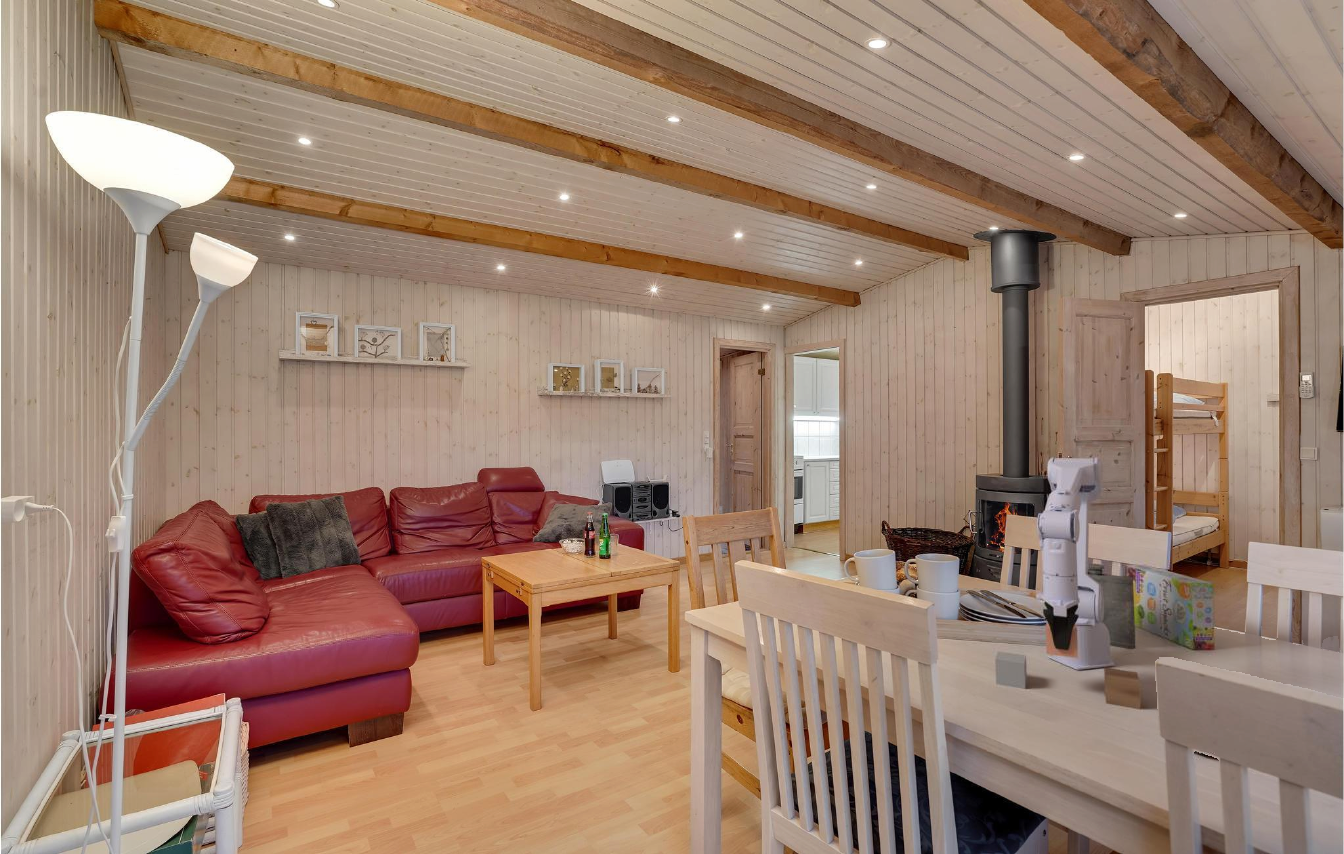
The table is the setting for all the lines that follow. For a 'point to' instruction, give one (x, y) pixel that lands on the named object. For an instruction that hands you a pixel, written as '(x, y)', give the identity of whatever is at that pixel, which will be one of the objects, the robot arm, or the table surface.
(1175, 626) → the snack box
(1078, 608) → the robot arm
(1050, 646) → the terracotta block
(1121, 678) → the walnut block
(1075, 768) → the table surface
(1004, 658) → the slate block
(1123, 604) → the dark grey slab
